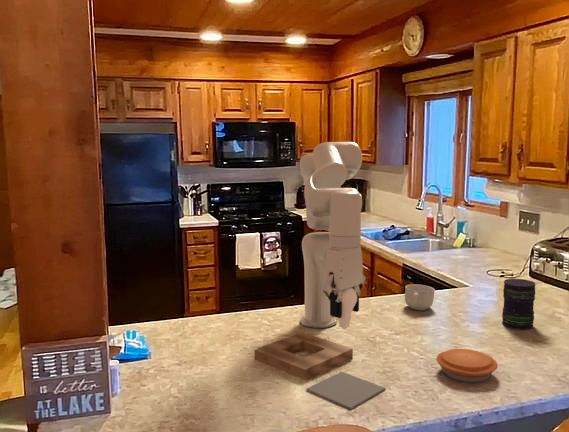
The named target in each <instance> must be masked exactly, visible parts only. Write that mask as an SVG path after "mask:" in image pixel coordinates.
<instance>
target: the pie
mask: <svg viewBox="0 0 569 432" xmlns="http://www.w3.org/2000/svg"><path fill="white" fill-rule="evenodd" d="M436 362H437V364H438V365H439V366H440V368H441V369H442V371H443V373H444V374H445V375H446V376H447V377H448V378H450V379H453V380H455V381H458V382H463V383H472V384H473V383H481V382H485V381H486V380H487V379H489V377H491V375H492V374H493V372H495V371H496V370H497V369H498V366H499V365H498V363H497V361H496V360H495V359H494V358H493V357H491V356H489V355H488V354H485V353H484V352H481V351H477V350H473V349H467V348H454V349H453V348H451V349H449V350H445V351H442V352H440V353H439V354H437V356H436Z"/></svg>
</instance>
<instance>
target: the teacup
mask: <svg viewBox="0 0 569 432" xmlns="http://www.w3.org/2000/svg"><path fill="white" fill-rule="evenodd" d="M404 288H405V290H404V301H405V303H406V305H407V306H408V307H409V308H410V309H413V310H415V311H426V310H428V309H429V308H431V307H432V306H433V303H434V299H435V292H436V291H435V290H436V289H435V288H434V287H432V286H429V285H423V284H416V283H415V284H407V285H405V286H404Z"/></svg>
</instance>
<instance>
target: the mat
mask: <svg viewBox="0 0 569 432" xmlns="http://www.w3.org/2000/svg"><path fill="white" fill-rule="evenodd" d="M385 390H386V387H384V386H381V385H378V384H376V383H375V382H372V381H368V380H365V379H363V378H360V377H357V376H355V375H352V374H349V373H347V372H344V371H340V372H338V373H336V374H333V375H332V376H330V377H327V378H326V379H323V380H321V381H319V382H318V383H316V384H313V385H311V386H309V387H307V388H306V391H307V392H309V393H311V394H314V395H316V396H318V397H320V398H323V399H325V400H328V401H329V402H332V403H334V404H337V405H339V406H340V407H344V408H345V409H349V410H353V409H354V408H355V409H356V408H357V407H358V406H360V405H363V403H365V402H367V401H368V400H371V399H372V398H374V397H375V396H377V395H379V394H381V393H383V392H384V391H385Z"/></svg>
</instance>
